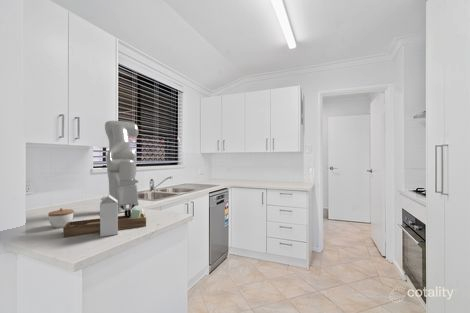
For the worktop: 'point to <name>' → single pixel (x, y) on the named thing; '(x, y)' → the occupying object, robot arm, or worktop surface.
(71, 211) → the lidded jar
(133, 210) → the block
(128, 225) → the box
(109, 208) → the milk carton
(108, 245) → the worktop surface
